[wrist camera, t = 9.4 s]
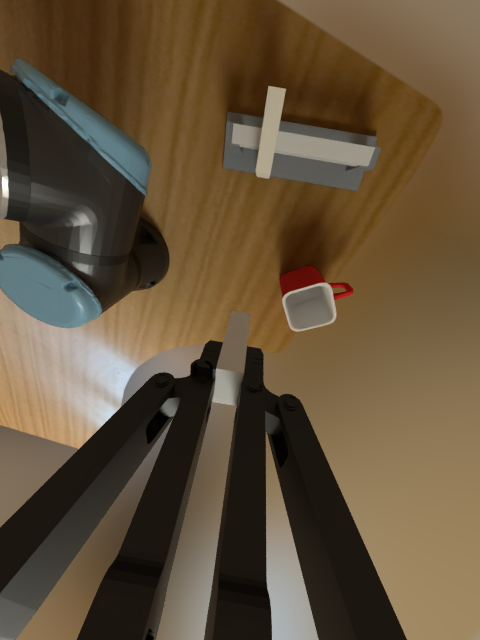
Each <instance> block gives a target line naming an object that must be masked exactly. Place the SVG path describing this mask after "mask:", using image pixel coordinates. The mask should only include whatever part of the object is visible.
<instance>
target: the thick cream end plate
mask: <svg viewBox="0 0 480 640" xmlns="http://www.w3.org/2000/svg"><path fill="white" fill-rule="evenodd" d="M285 92H286V89H284V88H278V87H272V86H268V93H267V99H266V106H265V113H264V119H263V126H262V132H261V139H260V145H259V152H258V159H257V165H256V175H257V177H262V178H268V179H269V177H270V174H271V168H272V163H273V157H274V152H275V146H276V141H277V135H278V130H279V125H280V119H281V114H282V108H283V103H284V97H285Z"/></svg>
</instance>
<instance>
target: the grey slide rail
mask: <svg viewBox="0 0 480 640" xmlns="http://www.w3.org/2000/svg"><path fill="white" fill-rule="evenodd" d="M263 119H264V118H262V117H257V116H251V115H245V114H239V113H233V112H228V114H227V125H226V136H225V149H224V161H223V168H225V169H231V170H237V171H242V172H248V173H254V174H256V165H257V159H258V152H259V145H260V139H261V132H262V126H263ZM376 140H377V137H375V136H369V135H363V134H357V133H351V132H345V131H339V130H333V129H327V128H322V127H316V126H310V125H304V124H298V123H292V122H286V121H280V125H279V130H278V135H277V141H276V146H275V152H274V157H273V163H272V168H271V174H270V176H271V177H277V178H283V179H289V180H295V181H301V182H306V183H312V184H318V185H324V186H330V187H336V188H341V189H347V190H353V191H358V188H359V185H360V183H361V180H362V177H363V175H364V172H365V171H369V170H373V169H374V166H375V163H376V161H377V158H378V156H379V153H380V151H381V148H382V147H376V146H374V145H375V142H376Z"/></svg>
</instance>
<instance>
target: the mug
mask: <svg viewBox="0 0 480 640" xmlns="http://www.w3.org/2000/svg"><path fill="white" fill-rule="evenodd" d="M280 286H281V291H282V297H283V298H282V303H283V307H284V310H285V313H286V317H287V320H288V323H289V326H290V328H291V329H292V330H294V331H304V330H308V329H312V328H316V327H320V326H324V325H328V324H331V323H333V322H334V320H335V319H336V315H337V314H336V308H335V302H334V300H335V299H339V298H342V297H346V296H349V295H351V294H352V293H353V288H351V286H350V285H349V284H347V283H326V281H325V280H324V279H323V277H322V276H321V275H320V273H319V272H318V271H317V269H316V268H315V267H313V266H307V267H303V268H300V269H297V270H294V271H291V272H288V273H285V274H283V275H282V276H281V277H280ZM337 287H341V288H345V289H346V290H347V291H345V292H341V293H333V291H332V288H337Z"/></svg>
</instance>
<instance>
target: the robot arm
mask: <svg viewBox="0 0 480 640" xmlns="http://www.w3.org/2000/svg"><path fill="white" fill-rule="evenodd" d="M11 72H12V73H13V74H14V76H12V75H9V74H7V73H5V72H4V71H2V70H0V218H2V219H8V220H14V221H19V224H20V242H19V244H9V245H5V246H4V247H3V248H2V249H1V250H0V288H1V289H2V291H3V292H4V293H5V294H6V295H7V297H8V298H9V299H10V300H12V301H13V302H14V303H15V304H16V305H17V306H18V307H19V308H21V309H22V310H23V311H24V312H26V313H27V314H29V315H31V316H32V317H34V318H36V319H38V320H40V321H42V322H44V323H47V324H49V325H52V326H56V327H61V328H73V327H80V326H82V325H84V324H86V323H88V322H90V321H92V320H94V319H96V318H98V317H99V316H100V315H101V314H102V313H103V312H104V311H106V310H107V309H109V308H110V307H111V306H113V305H114V304H115V303H117V302H118V301H119V300H121V299H122V298H124V297H125V296H126V295H128V294H129V293H130V292H132V291H137V290H144V289H148V288H151V287H153V286H155V285H156V284H157V283H159V282H160V281H161V280H162V279H163V278H164V277H165V275H166V273H167V271H168V268H169V253H168V249H167V246H166V244H165V241H164V240H163V238H162V236H161V235H160V233H159V232H158V231H157V230H156V229H155V228H154V227H153V226H152V225H151V224H150V223H148V222H147V221H145V220H144V219H142V218H140V214H141V211H142V207H143V203H144V199H145V196H147V190H146V189H147V184H148V179H149V174H150V169H151V162H150V158H149V155H148V153H147V152H146V150H145V149H144V148H143V147H142V146H141V145H140V144H139V143H138V142H136V141H135V140H134V139H132V138H131V137H130V136H128V135H127V134H126V133H124V132H123V131H122V130H120V129H119V128H118V127H116V126H115V125H113V124H112V123H111V122H109V121H108V120H107V119H105V118H104V117H102V116H101V115H100V114H98V113H97V112H96V111H94V110H93V109H92V108H90V107H89V106H87V105H86V104H85V103H83V102H82V101H81V100H79V99H78V98H76V97H75V96H74V95H72V94H71V93H70V92H68V91H67V90H65V89H64V88H63V87H61V86H60V85H58V84H57V83H56V82H54V81H53V80H51V79H50V78H48V77H47V76H46V75H44V74H43V73H41V72H40V71H39V70H37V69H36V68H35V67H33V66H32V65H30V64H29V63H28V62H26V61H25V60H23V59H21V58H16V59H15V61H14V64H12V65H11ZM250 315H251V314H249V313H243V312H237V311H232V313H231V316H230V320H229V324H228V327H227V331H226V334H225V338H224V342H217V341H212V340H210V341H209V342H208V343H206V344H205V347H204V349H203V352H202V355H201V357H200V359H198V360H195V361H194V362H193V363H192V364H191V375H190V376H188V377H184V378H174V377H173V375H171V374H169V373H165V372H164V373H158V374H155V375H154V376H152V377H151V378H150V379H149V380H148V381H147V382H146V383H145V384H144V385H143V386H142V387H141V388H140V389H139V390H138V391H137V392H136V393H135V394H134V395H133V396H132V397H131V398H130V399H129V400H128V401H127V402H126V403H125V404H124V405H123V406H122V407H121V408H120V409H119V410H118V411H117V412H116V413H115V414H114V415H113V416H112V417H111V418H110V419H109V420H108V421H107V422H106V423H105V424H104V425H103V426H102V427H101V428H100V429H99V430H98V431H97V432H96V433H95V434H94V435H93V436H92V437H91V438H90V439H89V440H88V441H87V442H86V443H85V444H84V445H83V446H82V447H81V448H80V449H79V450H78V451H77V452H76V453H75V454H74V455H73V456H72V457H71V458H70V459H69V460H68V461H67V462H66V463H65V464H64V465H63V466H62V467H61V468H60V469H59V470H58V471H57V472H56V473H55V474H54V475H53V476H52V477H51V478H50V479H49V480H48V481H47V482H46V483H45V484H44V485H43V486H42V487H41V488H40V489H39V490H38V491H37V492H36V493H35V494H34V495H33V496H32V497H31V498H30V499H29V500H28V501H27V502H26V503H25V504H24V505H23V506H22V507H21V508H20V509H18V511H17V512H16V513H14V515H12V517H10V519H8V520H7V521H6V522H5V524H3V525H2V527H0V640H16V638H17V637H18V636H19V634H20V633H21V631H22V630H23V629H24V628H25V626H26V625H27V624H28V622H29V621H30V620H31V618H32V617H33V615H34V614H35V613H36V611H37V610H38V609H39V607H40V606H41V605H42V603H43V602H44V600H45V599H46V597H47V596H48V595H49V593H50V592H51V590H52V589H53V588H54V586H55V585H56V583H57V582H58V580H59V579H60V578H61V576H62V575H63V573H64V572H65V570H66V569H67V568H68V566H69V565H70V563H71V562H72V561H73V559H74V558H75V556H76V555H77V554H78V552H79V551H80V549H81V548H82V546H83V545H84V544H85V542H86V541H87V539H88V538H89V536H90V535H91V534H92V532H93V531H94V529H95V528H96V527H97V525H98V523H99V522H100V521H101V519H102V518H103V517H104V515H105V514H106V512H107V511H108V510H109V508H110V507H111V505H112V504H113V502H114V501H115V500H116V498H117V497H118V495H119V494H120V492H121V491H122V490H123V488H124V487H125V485H126V484H127V482H128V481H129V480H130V478H131V477H132V476H133V474H134V473H135V471H136V470H137V468H138V467H139V466H140V464H141V463H142V461H143V460H144V458H145V457H146V456H147V454H148V453H149V451H150V450H151V449H152V447H153V446H154V444H155V443H156V441H157V440H158V438H159V437H160V436H161V434H162V433H163V432H164V430H165V429H166V427H167V426H168V425H169V423H170V422H171V420H172V419H173V420H172V423H171V425H170V428H169V430H168V433H167V435H166V438H165V440H164V443H163V445H162V448H161V450H160V453H159V455H158V458H157V460H156V462H155V465H154V467H153V470H152V472H151V475H150V477H149V480H148V482H147V485H146V487H145V490H144V492H143V494H142V497H141V499H140V502H139V504H138V507H137V509H136V512H135V514H134V517H133V519H132V522H131V524H130V527H129V529H128V532H127V534H126V537H125V539H124V542H123V544H122V546H121V549H120V551H119V554H118V555H117V557H116V559H115V561H114V562H113V563H112V565H111V566H110V567H109V568H108V570H107V572H106V574H105V576H104V578H103V580H102V582H101V584H100V586H99V588H98V591H97V593H96V596H95V598H94V600H93V602H92V605H91V607H90V609H89V612H88V614H87V617H86V619H85V621H84V624H83V626H82V628H81V631H80V633H79V636H78V638H77V640H156V636H157V631H158V628H159V623H160V619H161V615H162V610H163V606H164V602H165V596H166V591H167V586H168V581H169V577H170V573H171V569H172V565H173V561H174V557H175V553H176V549H177V545H178V541H179V536H180V532H181V528H182V524H183V520H184V516H185V512H186V508H187V504H188V500H189V496H190V492H191V488H192V484H193V479H194V475H195V471H196V467H197V463H198V459H199V455H200V450H201V447H202V443H203V439H204V434H205V431H206V427H207V422H208V418H209V414H210V410H211V403H212V402H217V403H223V404H228V405H234V406H237V408H236V413H235V417H234V427H233V435H232V442H231V449H230V457H229V464H228V472H227V479H226V487H225V495H224V501H223V509H222V516H221V524H220V532H219V539H218V546H217V554H216V561H215V569H214V576H213V584H212V591H211V597H210V603H209V609H208V615H207V623H206V629H205V637H204V640H272V625H271V606H270V599H269V594H268V590H267V582H266V441H265V440H266V439H265V438H266V436H265V435H266V433H265V432H267V434H268V439H269V443H270V447H271V451H272V455H273V459H274V462H275V467H276V470H277V475H278V479H279V482H280V487H281V490H282V495H283V499H284V502H285V507H286V511H287V515H288V518H289V523H290V527H291V531H292V534H293V538H294V543H295V546H296V550H297V555H298V558H299V562H300V566H301V570H302V574H303V578H304V582H305V586H306V590H307V594H308V598H309V602H310V606H311V610H312V614H313V618H314V622H315V626H316V630H317V634H318V638H319V640H407V639H406V637H405V635H404V632H403V630H402V628H401V625H400V623H399V621H398V619H397V616H396V614H395V612H394V610H393V607H392V605H391V603H390V601H389V599H388V596H387V594H386V592H385V589H384V587H383V585H382V583H381V581H380V578H379V576H378V574H377V571H376V569H375V567H374V565H373V562H372V560H371V558H370V556H369V553H368V551H367V549H366V547H365V544H364V542H363V540H362V538H361V536H360V533H359V531H358V529H357V527H356V524H355V522H354V520H353V517H352V515H351V513H350V511H349V509H348V506H347V504H346V502H345V500H344V497H343V495H342V493H341V490H340V488H339V486H338V484H337V482H336V479H335V477H334V475H333V472H332V470H331V468H330V466H329V463H328V461H327V459H326V457H325V455H324V452H323V450H322V448H321V445H320V443H319V441H318V439H317V436H316V434H315V432H314V430H313V428H312V425H311V423H310V421H309V418H308V416H307V414H306V412H305V410H304V407H303V405H302V403H301V402H300V400H299V399H298V398H296V397H295V396H293V395H290V394H284V395H281V396H280V397H279V396H276V395H275V394H272V393H271V392H269V391H268V390H267V389H266V388H265V386H264V382H263V353H262V351H261V349H259V348H254V347H248V346H247V342H248V333H249V324H250ZM173 417H174V418H173Z"/></svg>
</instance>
